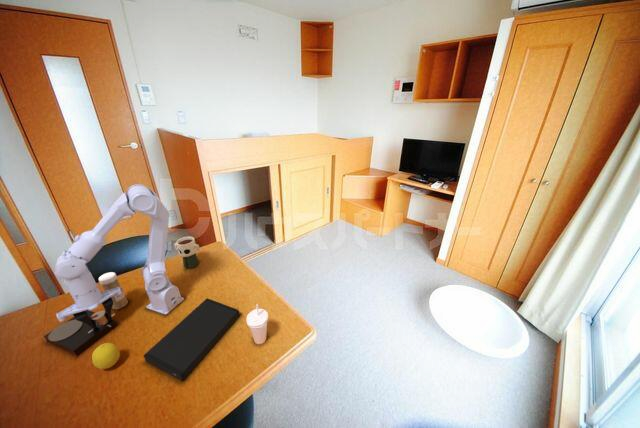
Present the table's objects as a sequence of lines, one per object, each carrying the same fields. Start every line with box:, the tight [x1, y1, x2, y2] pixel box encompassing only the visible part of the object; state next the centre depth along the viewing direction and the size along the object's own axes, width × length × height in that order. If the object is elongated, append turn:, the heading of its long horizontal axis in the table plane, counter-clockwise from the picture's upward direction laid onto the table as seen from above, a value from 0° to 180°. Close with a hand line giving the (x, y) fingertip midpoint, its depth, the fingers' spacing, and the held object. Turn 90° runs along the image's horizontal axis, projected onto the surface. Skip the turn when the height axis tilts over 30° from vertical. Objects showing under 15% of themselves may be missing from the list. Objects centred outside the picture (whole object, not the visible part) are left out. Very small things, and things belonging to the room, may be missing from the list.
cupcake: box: [90, 310, 109, 328], centre depth 75 cm, size 4×4×4 cm
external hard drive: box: [143, 298, 240, 382], centre depth 74 cm, size 14×23×3 cm, turn 158°
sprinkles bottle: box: [98, 271, 129, 310], centre depth 83 cm, size 5×5×14 cm
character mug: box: [173, 236, 201, 269], centre depth 105 cm, size 11×7×13 cm, turn 87°
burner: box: [48, 320, 83, 342], centre depth 74 cm, size 8×8×1 cm
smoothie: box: [245, 303, 269, 345], centre depth 72 cm, size 6×6×14 cm
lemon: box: [91, 342, 121, 370], centre depth 65 cm, size 6×6×8 cm
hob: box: [43, 309, 118, 357], centre depth 76 cm, size 15×13×3 cm
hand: (101, 322), depth 76 cm, fingers closed on cupcake, 3 cm apart
